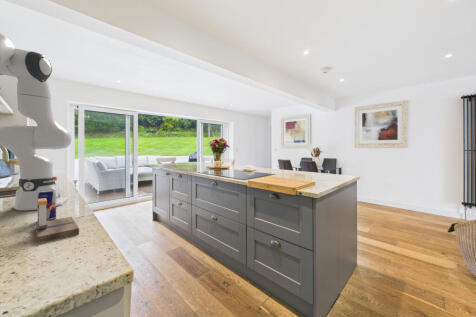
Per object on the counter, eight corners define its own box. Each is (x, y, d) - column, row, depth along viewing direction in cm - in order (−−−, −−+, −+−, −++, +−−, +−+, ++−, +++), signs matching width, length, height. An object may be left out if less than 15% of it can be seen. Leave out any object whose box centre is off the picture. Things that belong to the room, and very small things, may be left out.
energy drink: (44, 223, 77) (44, 192, 76) (33, 222, 78) (33, 191, 77) (59, 218, 82) (59, 189, 81) (49, 217, 83) (49, 189, 82)
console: (37, 243, 61) (37, 236, 61) (35, 228, 72) (35, 222, 72) (78, 234, 68) (78, 227, 68) (71, 221, 79) (71, 216, 79)
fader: (38, 229, 65) (38, 201, 64) (38, 225, 68) (37, 198, 68) (47, 227, 66) (47, 200, 66) (46, 224, 70) (46, 198, 69)
